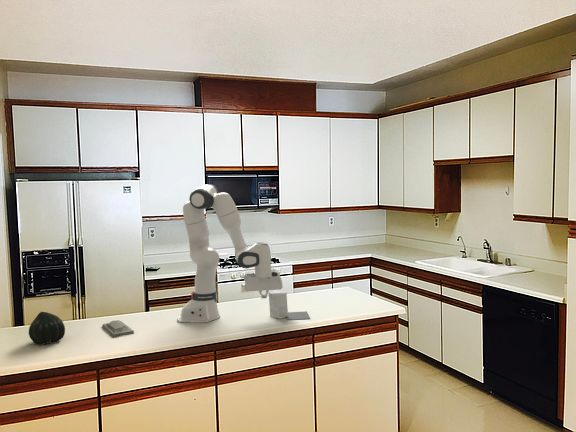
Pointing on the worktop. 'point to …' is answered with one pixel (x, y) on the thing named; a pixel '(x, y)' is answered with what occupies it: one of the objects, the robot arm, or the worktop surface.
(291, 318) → the mat
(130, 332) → the soap mold
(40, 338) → the squash
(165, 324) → the worktop surface
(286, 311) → the small box
